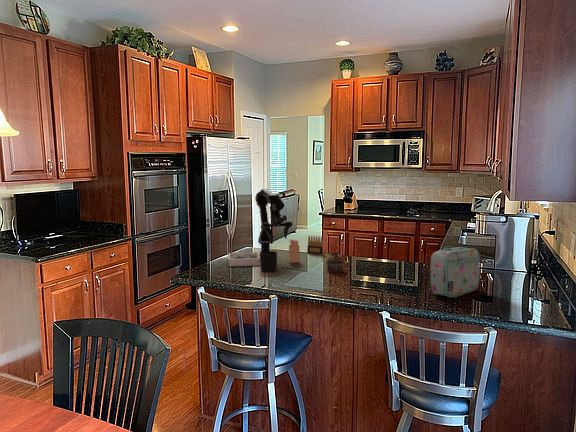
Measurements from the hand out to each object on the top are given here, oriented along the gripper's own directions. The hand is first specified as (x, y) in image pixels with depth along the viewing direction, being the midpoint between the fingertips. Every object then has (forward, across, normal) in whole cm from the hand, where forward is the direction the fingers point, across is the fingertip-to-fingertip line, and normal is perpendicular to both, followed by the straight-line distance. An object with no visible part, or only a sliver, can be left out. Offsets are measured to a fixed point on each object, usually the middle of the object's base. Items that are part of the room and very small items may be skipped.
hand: (278, 239), depth 262 cm
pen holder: (+20, -13, -15) cm, 29 cm away
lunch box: (+46, +53, -80) cm, 106 cm away
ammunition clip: (+8, +29, +16) cm, 34 cm away
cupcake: (+25, +21, -27) cm, 42 cm away
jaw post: (+14, +8, -1) cm, 17 cm away
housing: (+11, -21, +8) cm, 25 cm away
